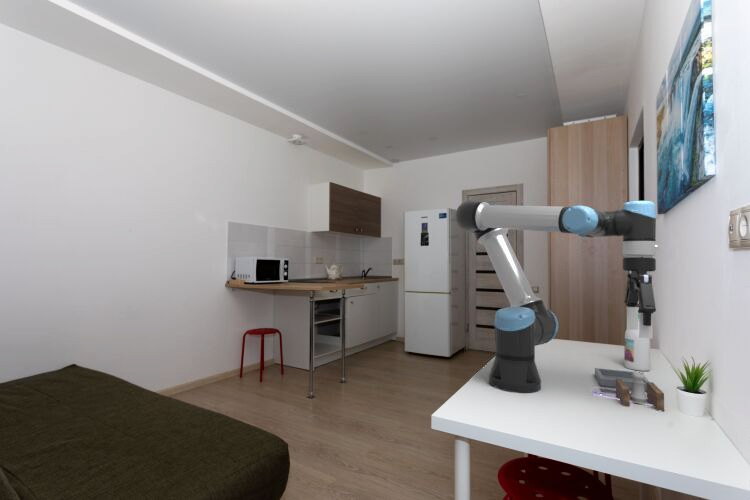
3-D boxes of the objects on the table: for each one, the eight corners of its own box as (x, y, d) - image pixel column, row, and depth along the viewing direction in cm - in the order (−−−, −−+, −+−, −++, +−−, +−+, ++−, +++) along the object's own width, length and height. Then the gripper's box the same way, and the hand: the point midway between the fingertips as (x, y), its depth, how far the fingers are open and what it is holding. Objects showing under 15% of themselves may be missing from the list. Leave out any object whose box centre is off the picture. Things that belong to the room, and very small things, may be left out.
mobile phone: (654, 404, 100) (589, 392, 109) (654, 408, 100) (590, 396, 109) (653, 396, 106) (592, 385, 115) (653, 399, 106) (592, 389, 115)
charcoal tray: (600, 386, 116) (600, 378, 116) (594, 375, 128) (594, 367, 128) (651, 392, 111) (651, 384, 111) (640, 380, 123) (640, 372, 123)
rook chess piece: (651, 405, 101) (651, 375, 101) (633, 404, 101) (633, 374, 102) (643, 399, 105) (643, 370, 105) (625, 398, 106) (625, 369, 106)
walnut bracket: (623, 405, 100) (622, 388, 101) (615, 393, 110) (615, 378, 110) (664, 411, 97) (664, 393, 97) (653, 398, 106) (652, 382, 106)
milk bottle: (649, 367, 138) (648, 313, 139) (651, 372, 131) (650, 315, 132) (624, 364, 142) (623, 311, 143) (624, 369, 136) (624, 313, 136)
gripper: (671, 256, 92) (671, 343, 91) (642, 257, 115) (641, 327, 115) (635, 256, 95) (634, 340, 94) (613, 257, 118) (613, 325, 117)
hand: (638, 333), depth 104 cm, fingers open, 13 cm apart
